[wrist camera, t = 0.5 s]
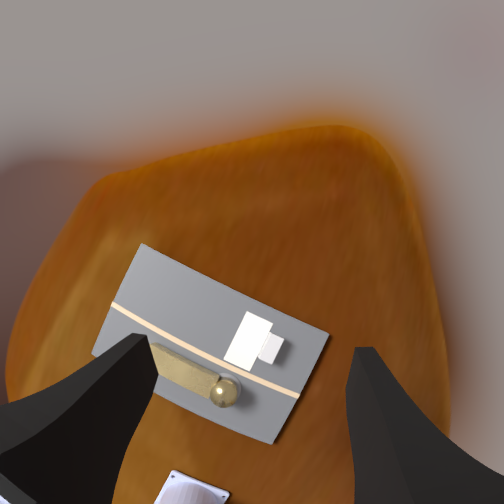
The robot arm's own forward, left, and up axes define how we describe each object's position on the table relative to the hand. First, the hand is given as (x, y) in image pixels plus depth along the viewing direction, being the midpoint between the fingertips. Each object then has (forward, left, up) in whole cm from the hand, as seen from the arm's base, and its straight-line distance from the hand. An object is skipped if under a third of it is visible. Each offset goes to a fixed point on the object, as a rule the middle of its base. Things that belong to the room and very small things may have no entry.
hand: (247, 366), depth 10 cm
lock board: (-4, +3, -24) cm, 25 cm away
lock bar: (-7, +3, -23) cm, 24 cm away
